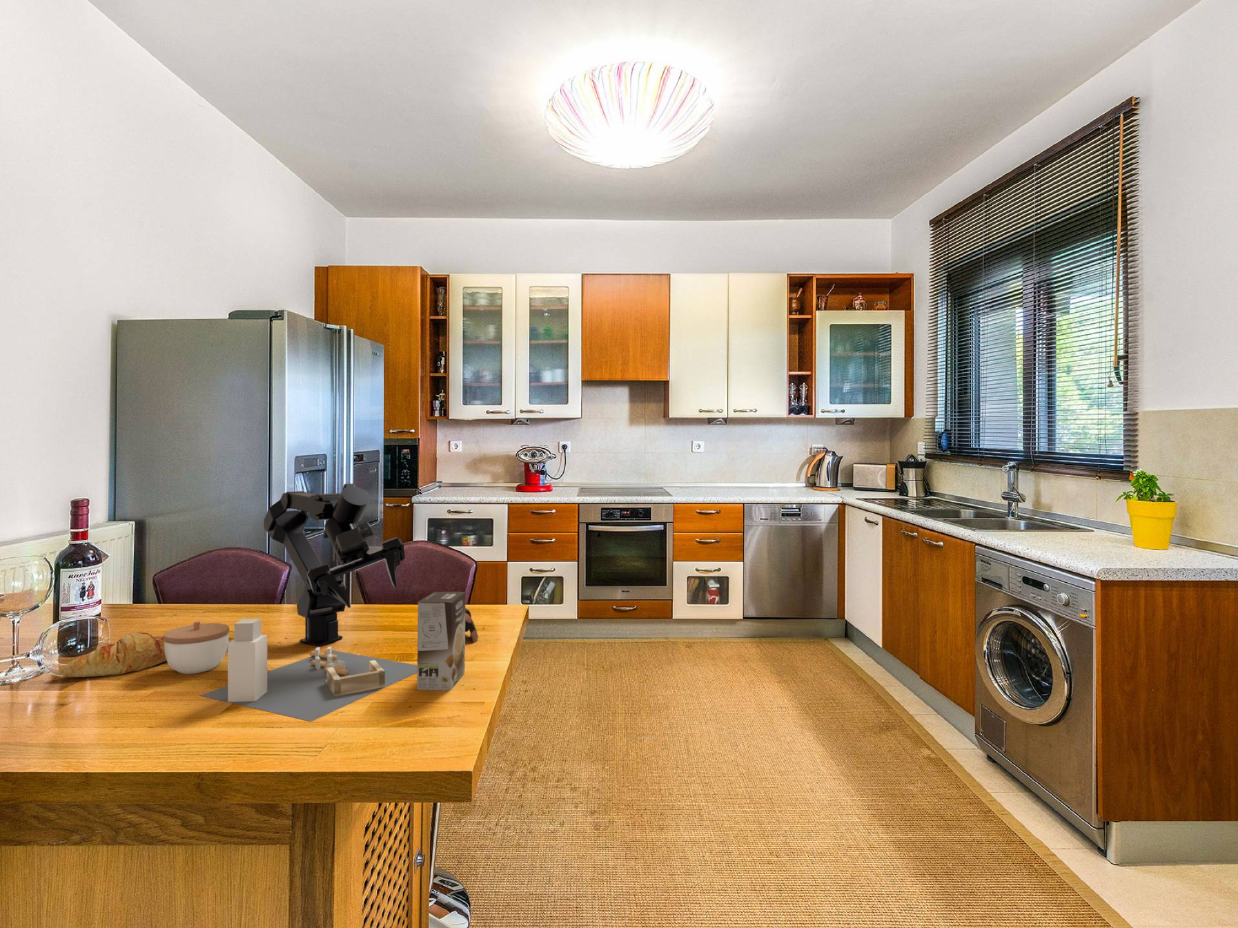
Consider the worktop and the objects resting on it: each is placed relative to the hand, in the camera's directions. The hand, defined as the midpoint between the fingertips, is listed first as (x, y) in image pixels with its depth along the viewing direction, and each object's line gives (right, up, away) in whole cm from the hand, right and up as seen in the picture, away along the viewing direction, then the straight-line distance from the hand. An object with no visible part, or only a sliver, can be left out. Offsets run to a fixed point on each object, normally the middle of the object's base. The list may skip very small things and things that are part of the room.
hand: (373, 596), depth 129 cm
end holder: (+1, -13, -12) cm, 18 cm away
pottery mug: (+12, -14, +18) cm, 26 cm away
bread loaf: (-47, -14, -2) cm, 49 cm away
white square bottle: (-15, -13, -18) cm, 27 cm away
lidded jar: (-33, -14, -4) cm, 35 cm away
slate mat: (-6, -14, -10) cm, 18 cm away
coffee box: (+16, -14, -9) cm, 23 cm away
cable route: (-8, -13, -2) cm, 16 cm away
